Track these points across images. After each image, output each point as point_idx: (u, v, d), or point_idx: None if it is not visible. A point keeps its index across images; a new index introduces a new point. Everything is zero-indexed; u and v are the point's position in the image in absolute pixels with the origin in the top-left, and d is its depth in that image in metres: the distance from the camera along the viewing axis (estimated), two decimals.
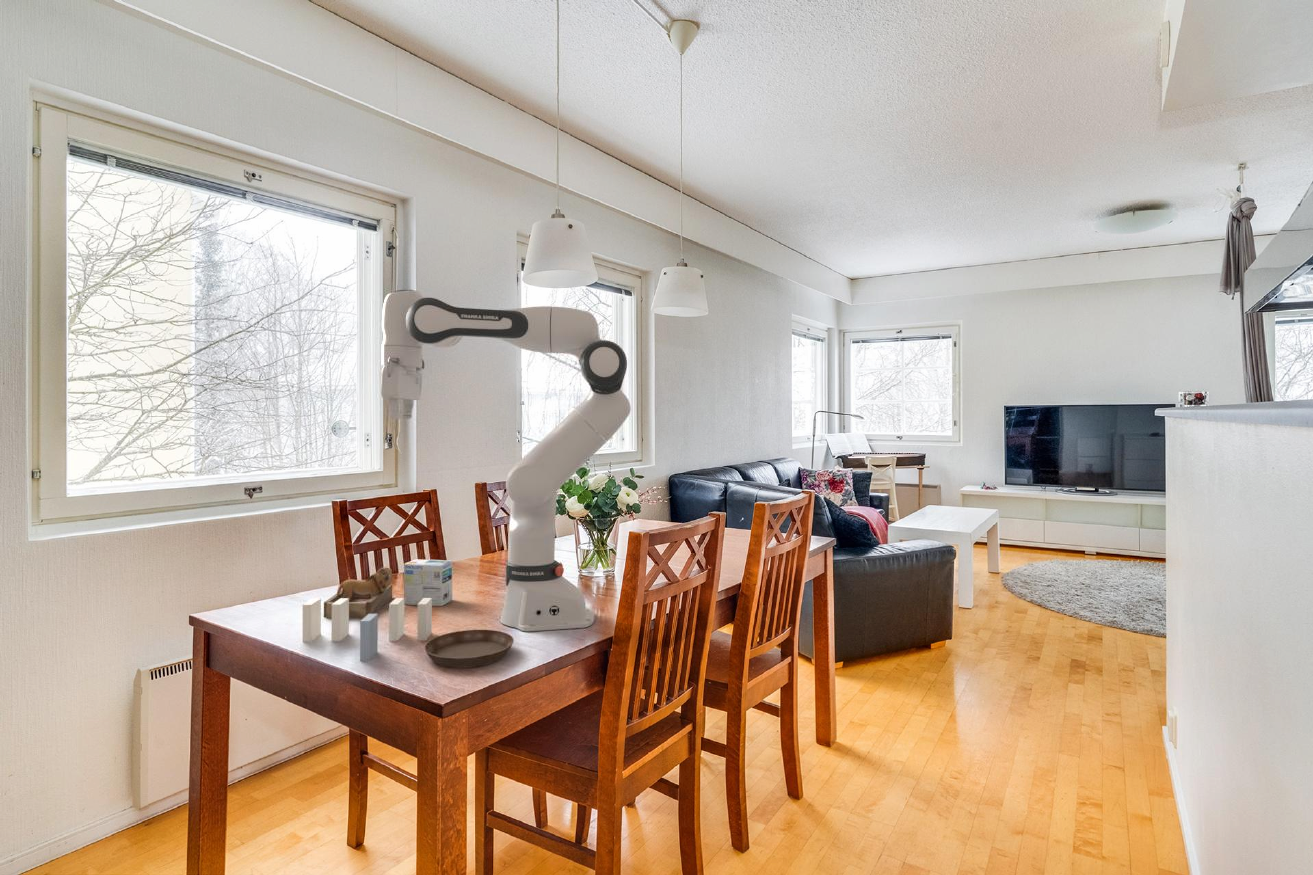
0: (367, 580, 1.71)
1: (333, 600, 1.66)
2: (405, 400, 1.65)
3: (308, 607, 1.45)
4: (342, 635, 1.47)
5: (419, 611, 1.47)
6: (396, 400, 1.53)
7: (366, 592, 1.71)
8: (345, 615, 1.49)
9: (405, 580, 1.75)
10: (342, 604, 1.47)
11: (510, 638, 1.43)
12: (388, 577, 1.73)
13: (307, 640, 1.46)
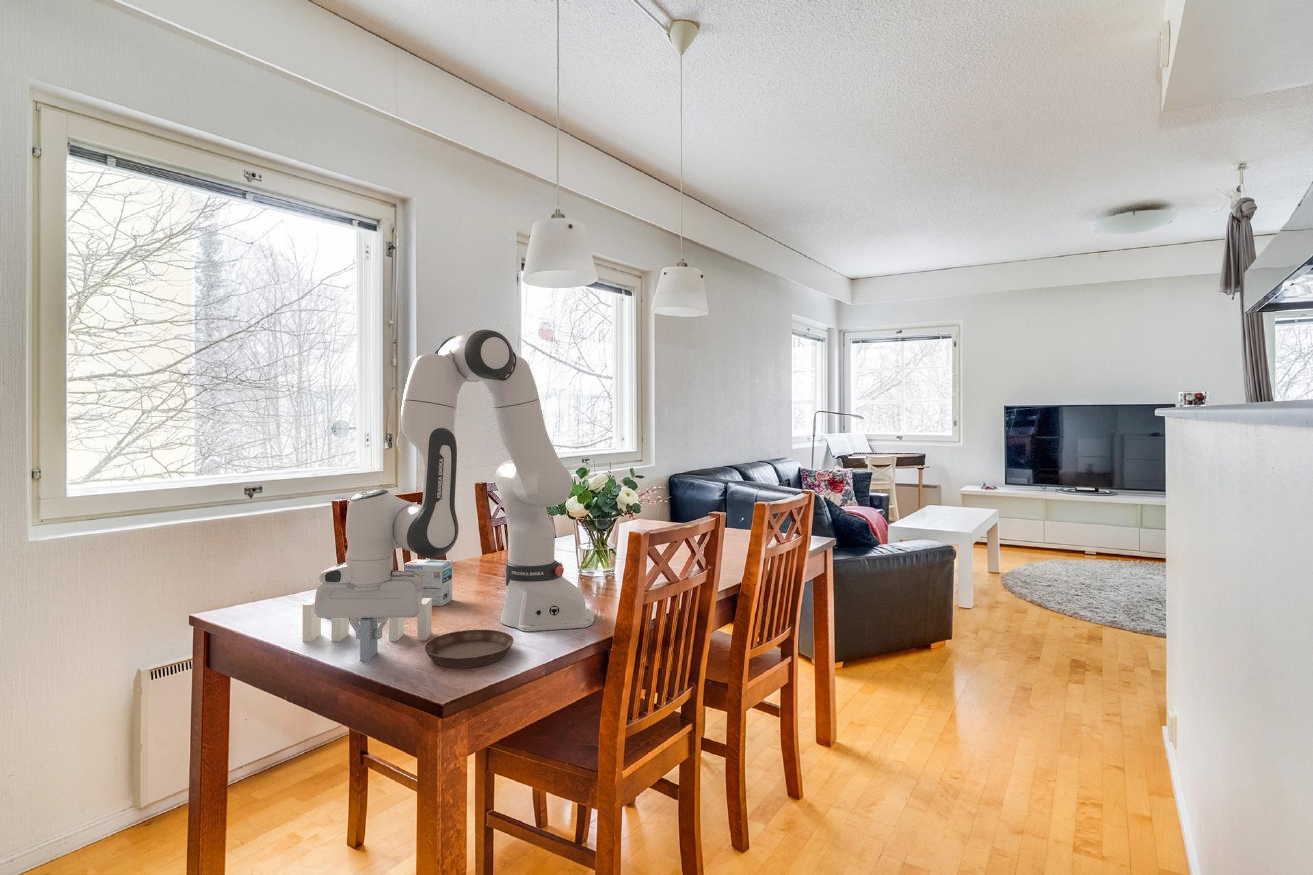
0: None
1: None
2: (357, 617, 1.36)
3: (308, 607, 1.45)
4: (342, 635, 1.47)
5: None
6: None
7: None
8: None
9: None
10: None
11: (510, 638, 1.43)
12: None
13: (307, 640, 1.46)
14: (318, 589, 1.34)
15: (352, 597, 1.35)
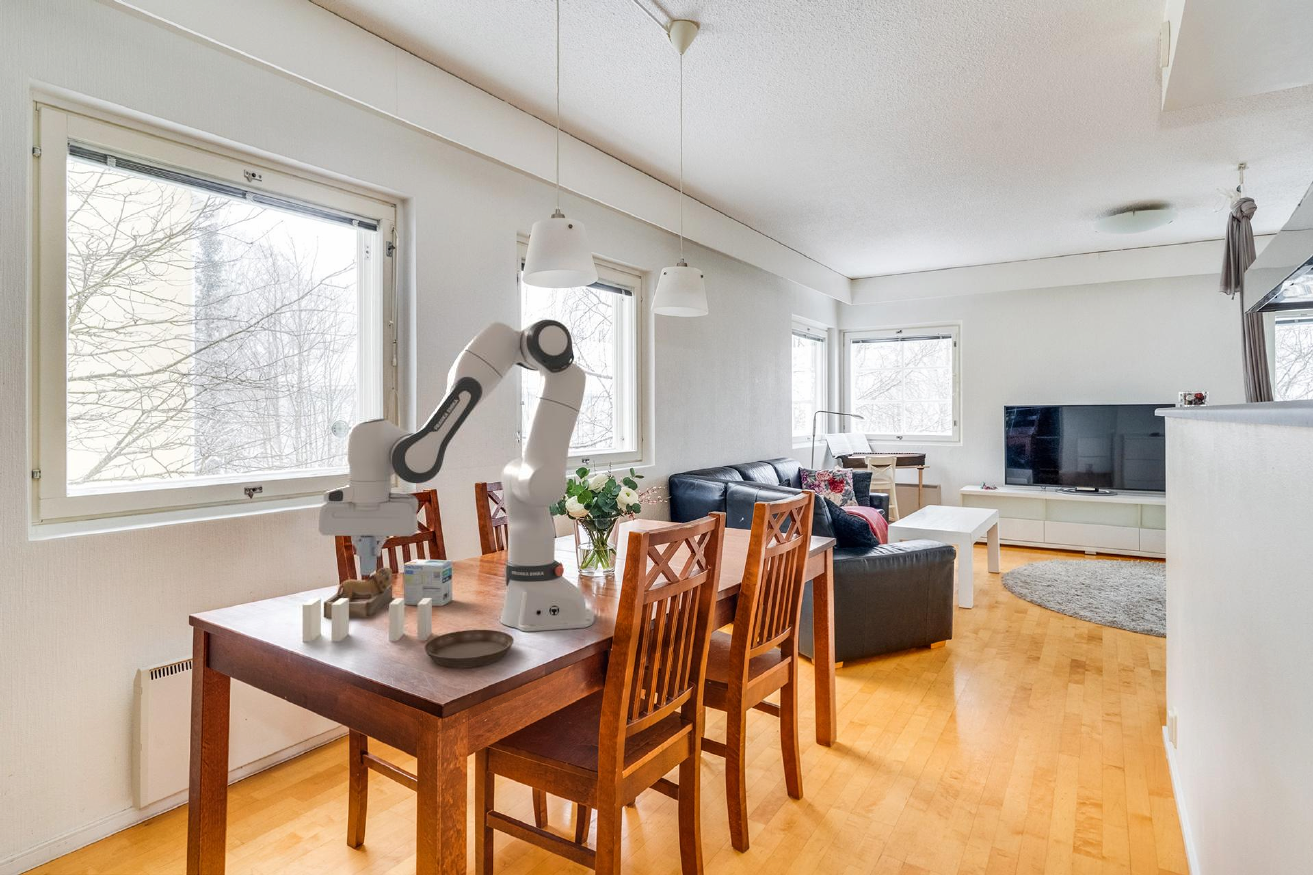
0: (367, 580, 1.71)
1: (333, 600, 1.66)
2: (358, 535, 1.48)
3: (308, 607, 1.45)
4: (342, 635, 1.47)
5: (419, 611, 1.47)
6: (386, 536, 1.49)
7: (366, 592, 1.71)
8: (345, 615, 1.49)
9: (405, 580, 1.75)
10: (342, 604, 1.47)
11: (510, 638, 1.43)
12: (388, 577, 1.73)
13: (307, 640, 1.46)
14: (322, 508, 1.45)
15: (353, 517, 1.46)
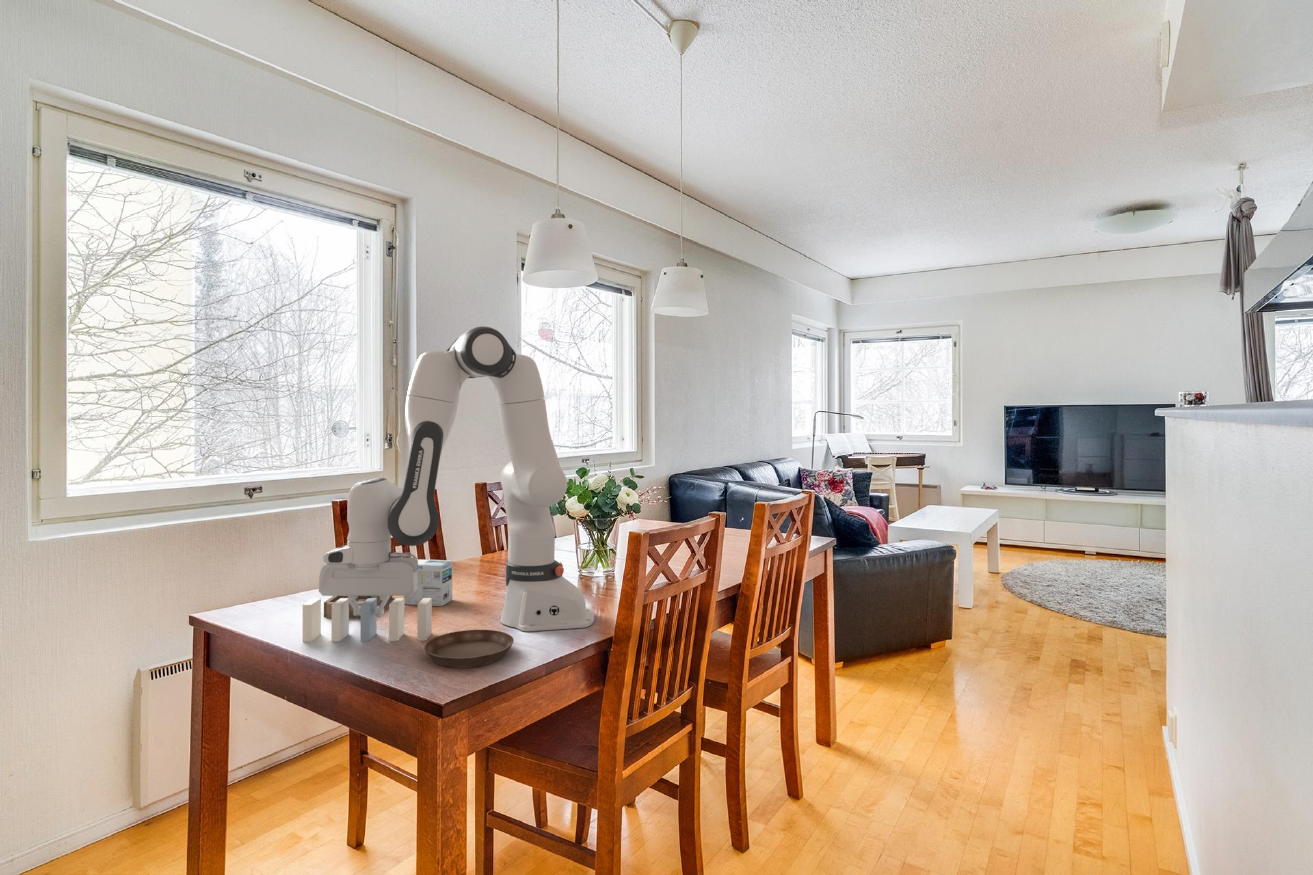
0: None
1: (333, 600, 1.66)
2: None
3: (308, 607, 1.45)
4: (342, 635, 1.47)
5: (419, 611, 1.47)
6: None
7: None
8: (345, 615, 1.49)
9: None
10: (342, 604, 1.47)
11: (510, 638, 1.43)
12: None
13: (307, 640, 1.46)
14: (322, 569, 1.45)
15: (353, 577, 1.47)
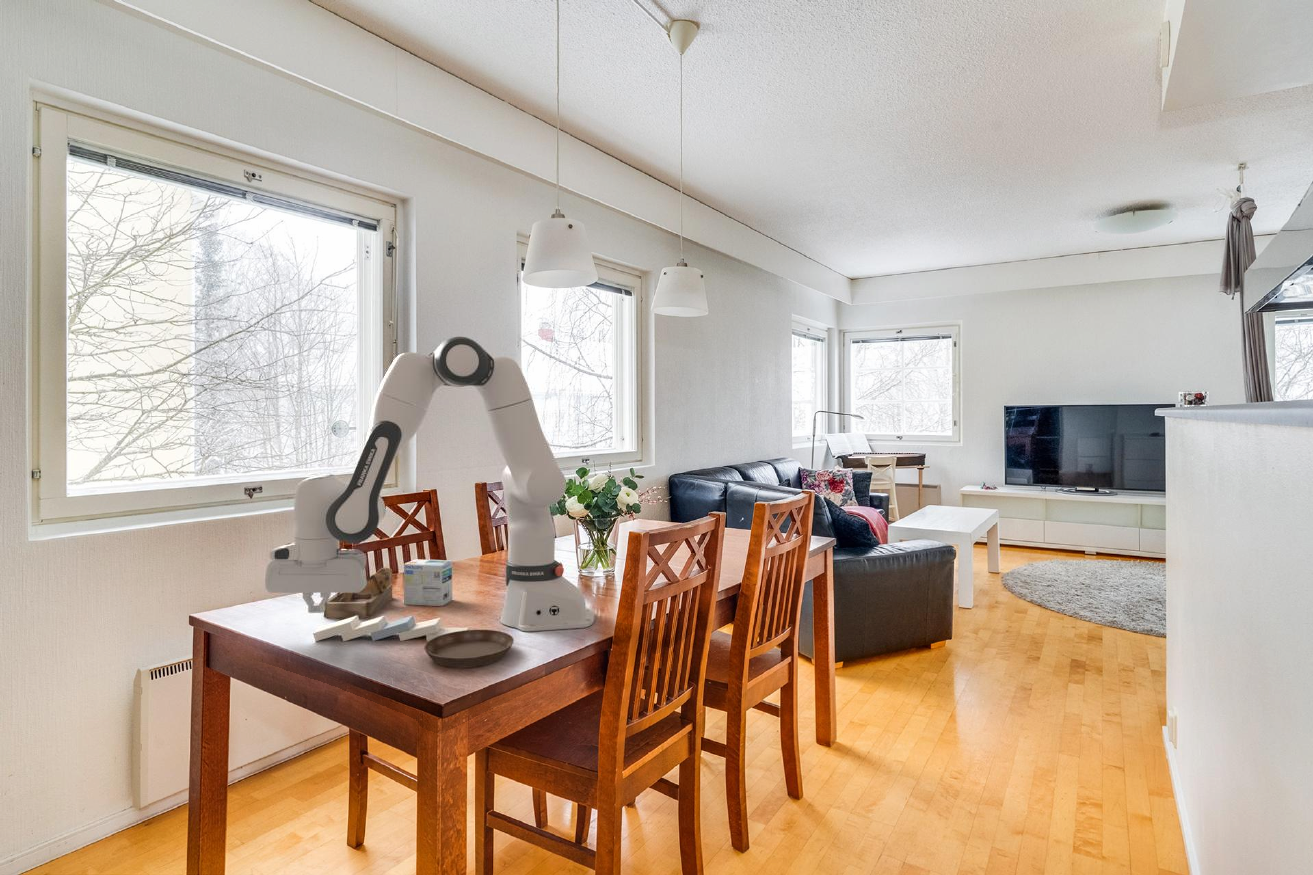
0: (367, 580, 1.71)
1: (333, 600, 1.66)
2: None
3: (348, 628, 1.46)
4: None
5: None
6: None
7: (366, 592, 1.71)
8: None
9: (405, 580, 1.75)
10: None
11: (510, 638, 1.43)
12: (388, 577, 1.73)
13: (315, 637, 1.46)
14: (268, 566, 1.44)
15: (300, 574, 1.46)
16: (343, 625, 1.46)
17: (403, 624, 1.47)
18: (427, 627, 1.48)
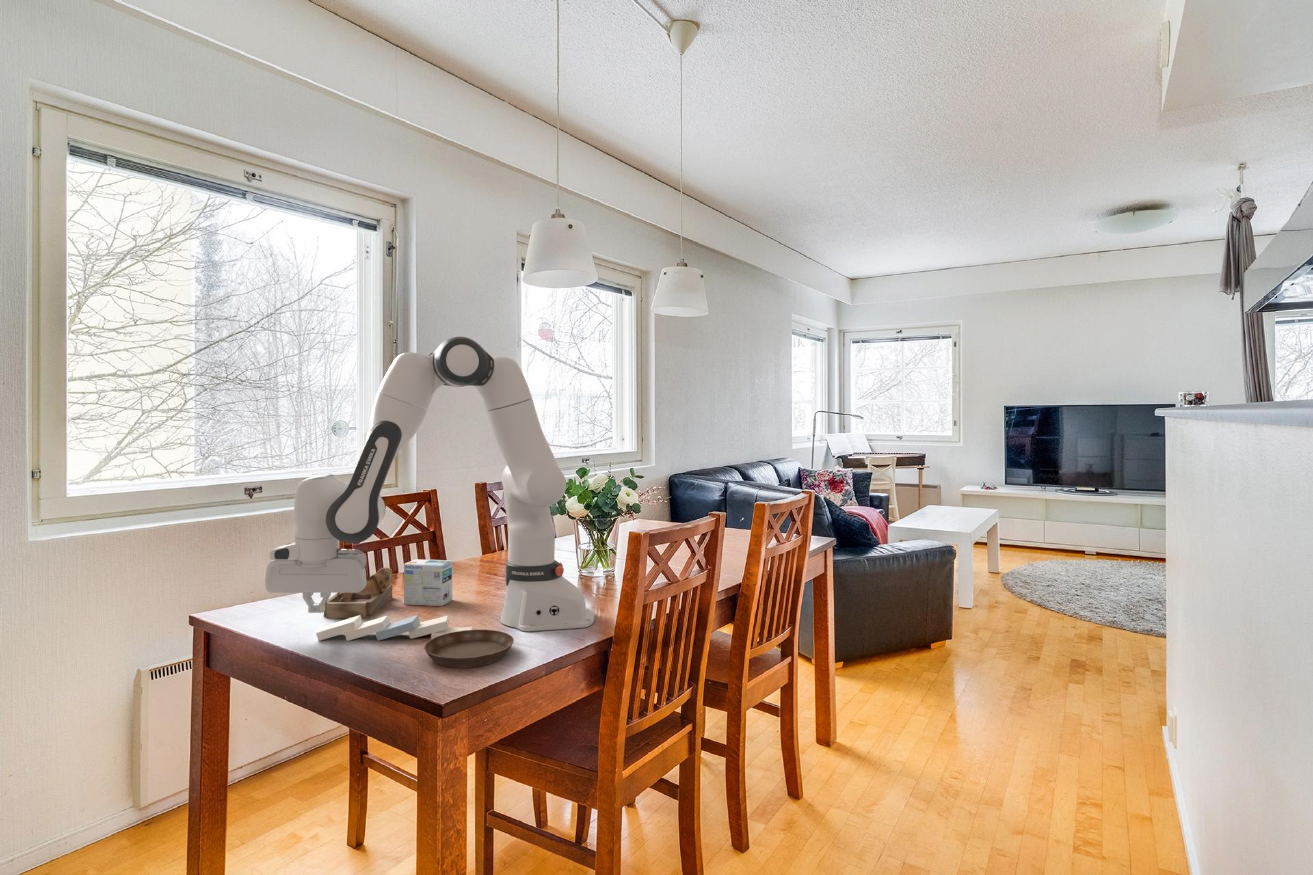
0: (367, 580, 1.71)
1: (333, 600, 1.66)
2: None
3: (351, 627, 1.47)
4: None
5: None
6: None
7: (366, 592, 1.71)
8: None
9: (405, 580, 1.75)
10: None
11: (510, 638, 1.43)
12: (388, 577, 1.73)
13: (318, 637, 1.46)
14: (268, 566, 1.44)
15: (300, 574, 1.46)
16: (346, 625, 1.47)
17: (408, 624, 1.47)
18: (438, 624, 1.49)
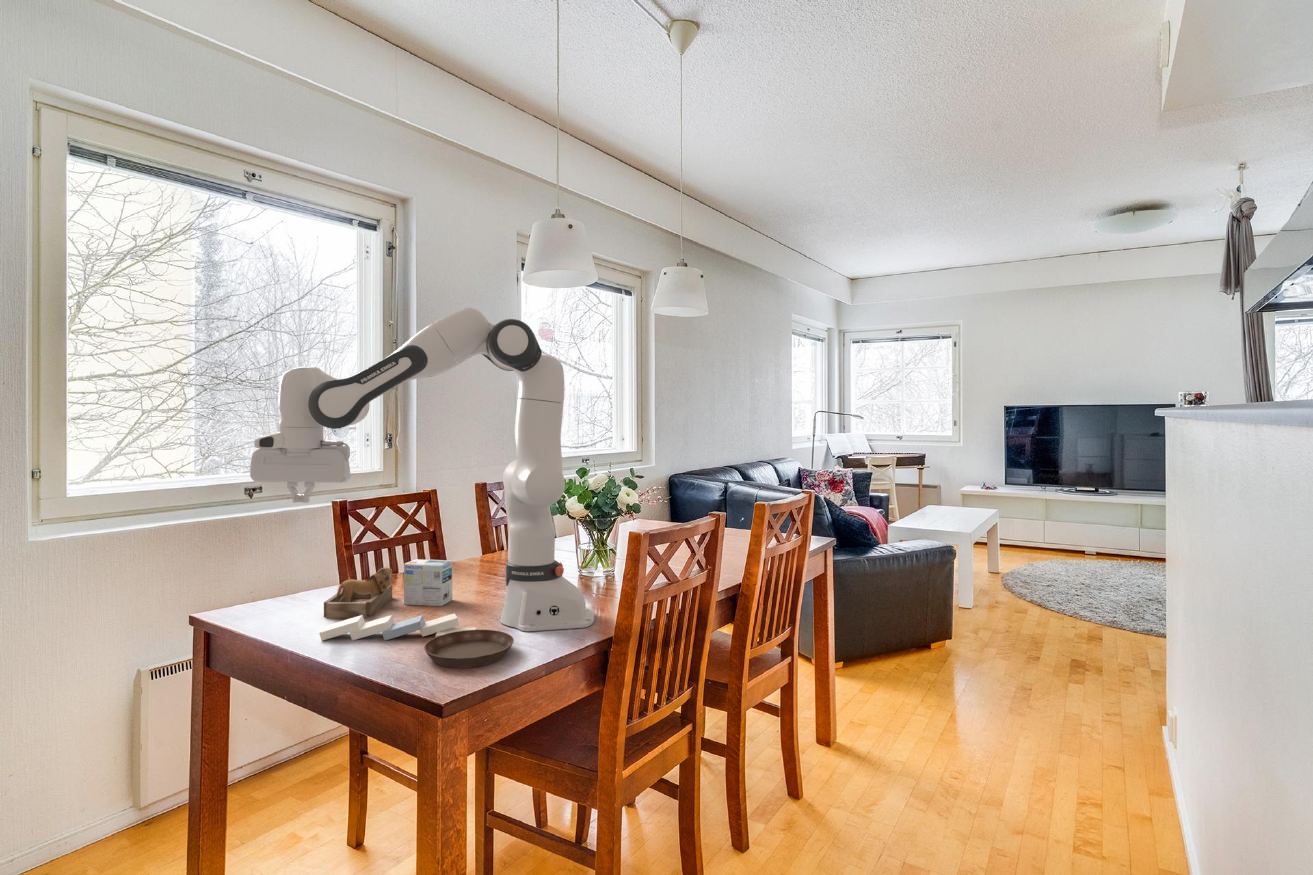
0: (367, 580, 1.71)
1: (333, 600, 1.66)
2: (294, 482, 1.50)
3: (355, 627, 1.47)
4: None
5: None
6: (314, 483, 1.51)
7: (366, 592, 1.71)
8: None
9: (405, 580, 1.75)
10: None
11: (510, 638, 1.43)
12: (388, 577, 1.73)
13: (321, 636, 1.46)
14: (253, 454, 1.47)
15: (284, 463, 1.49)
16: (350, 624, 1.47)
17: (415, 623, 1.48)
18: (449, 621, 1.51)
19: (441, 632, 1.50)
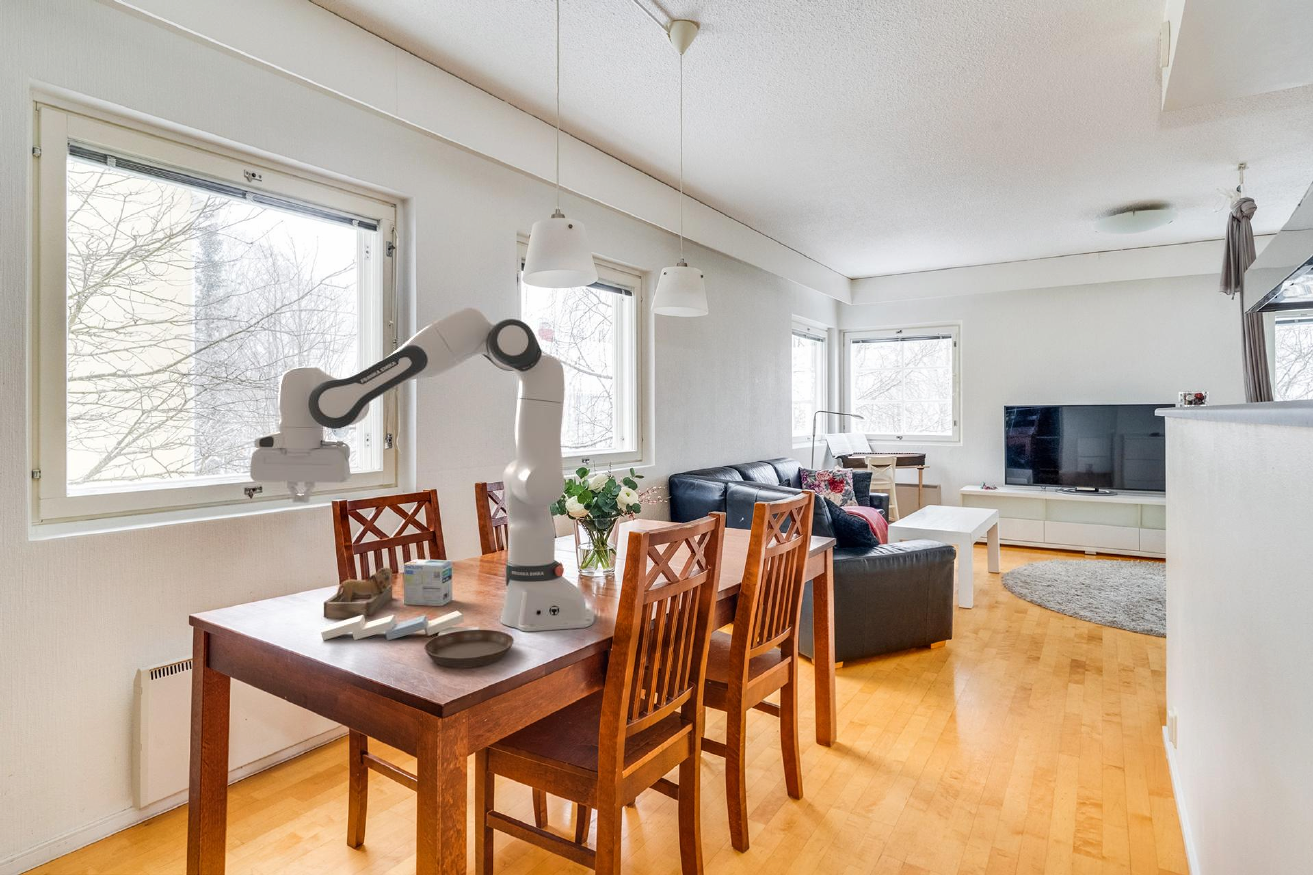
0: (367, 580, 1.71)
1: (333, 600, 1.66)
2: (294, 482, 1.50)
3: (357, 626, 1.48)
4: None
5: None
6: (314, 483, 1.51)
7: (366, 592, 1.71)
8: None
9: (405, 580, 1.75)
10: None
11: (510, 638, 1.43)
12: (388, 577, 1.73)
13: (323, 636, 1.46)
14: (253, 454, 1.47)
15: (284, 463, 1.49)
16: (352, 624, 1.48)
17: (419, 623, 1.48)
18: (454, 618, 1.52)
19: (444, 632, 1.50)
